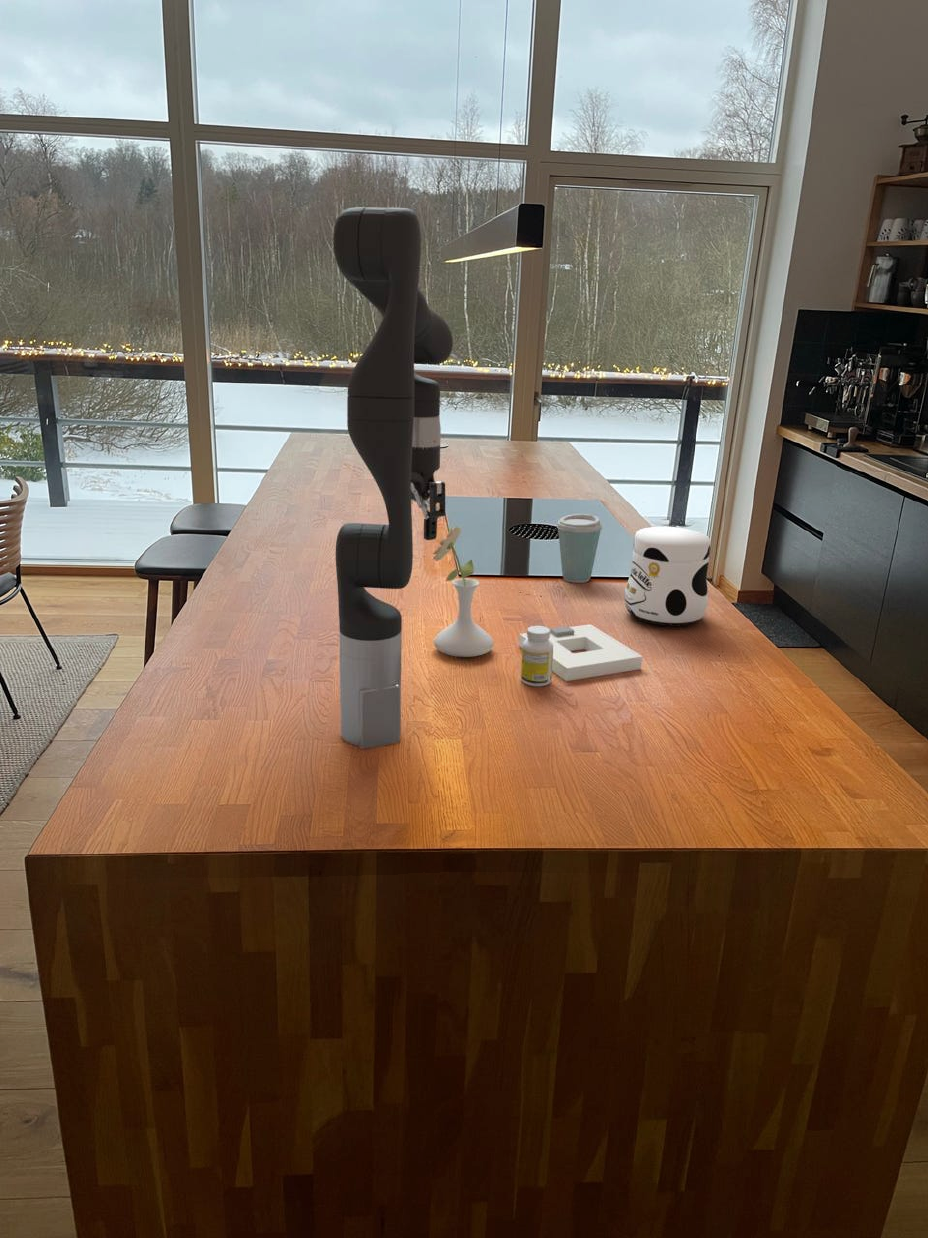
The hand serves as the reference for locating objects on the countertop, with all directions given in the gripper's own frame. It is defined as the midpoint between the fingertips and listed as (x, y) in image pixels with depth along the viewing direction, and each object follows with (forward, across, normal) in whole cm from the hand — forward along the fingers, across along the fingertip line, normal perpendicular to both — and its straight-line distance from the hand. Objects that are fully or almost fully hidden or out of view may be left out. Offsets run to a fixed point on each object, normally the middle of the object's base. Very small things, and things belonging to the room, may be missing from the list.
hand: (417, 533), depth 167 cm
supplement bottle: (+24, -19, -13) cm, 34 cm away
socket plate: (+24, -14, -27) cm, 39 cm away
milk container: (+24, -6, -58) cm, 63 cm away
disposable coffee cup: (+24, +24, -59) cm, 68 cm away
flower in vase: (+24, -1, -9) cm, 26 cm away
